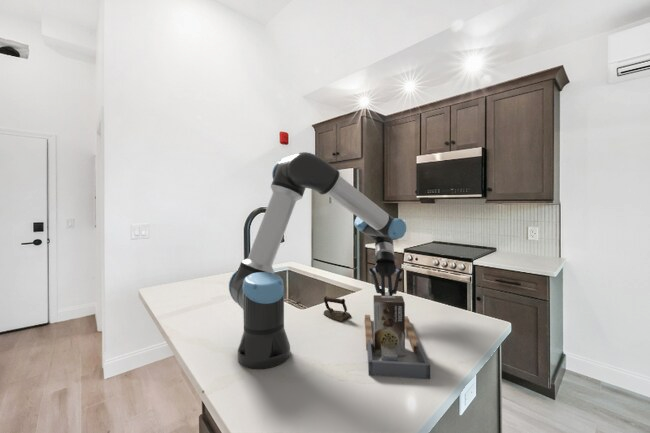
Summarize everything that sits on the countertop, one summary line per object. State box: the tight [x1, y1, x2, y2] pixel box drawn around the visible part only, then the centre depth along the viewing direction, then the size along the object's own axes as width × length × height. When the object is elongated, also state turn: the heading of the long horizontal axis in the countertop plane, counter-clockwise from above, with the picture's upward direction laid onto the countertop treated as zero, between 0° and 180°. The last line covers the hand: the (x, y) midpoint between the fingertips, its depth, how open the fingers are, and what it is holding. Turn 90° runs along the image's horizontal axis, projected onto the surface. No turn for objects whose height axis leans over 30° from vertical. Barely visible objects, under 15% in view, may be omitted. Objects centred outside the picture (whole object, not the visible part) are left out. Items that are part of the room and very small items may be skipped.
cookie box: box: [373, 294, 406, 357], centre depth 90 cm, size 9×6×16 cm
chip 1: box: [380, 342, 396, 361], centre depth 86 cm, size 4×4×4 cm
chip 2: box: [382, 349, 399, 362], centre depth 82 cm, size 4×4×4 cm
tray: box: [366, 339, 431, 380], centre depth 83 cm, size 13×16×4 cm
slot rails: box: [364, 314, 419, 354], centre depth 102 cm, size 24×16×2 cm, turn 174°
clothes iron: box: [323, 295, 352, 323], centre depth 118 cm, size 7×11×10 cm, turn 56°
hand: (387, 310), depth 106 cm, fingers closed
